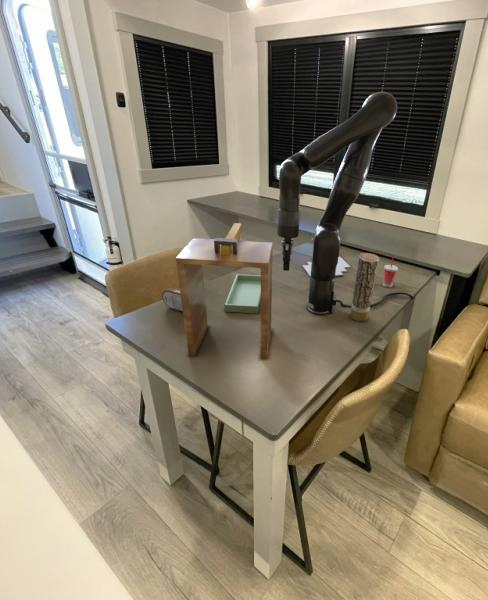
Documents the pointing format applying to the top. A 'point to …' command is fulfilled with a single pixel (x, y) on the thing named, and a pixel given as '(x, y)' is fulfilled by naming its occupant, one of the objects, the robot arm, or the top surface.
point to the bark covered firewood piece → (364, 286)
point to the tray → (244, 294)
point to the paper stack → (339, 267)
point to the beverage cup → (389, 274)
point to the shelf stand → (210, 254)
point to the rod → (232, 234)
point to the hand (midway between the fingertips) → (286, 265)
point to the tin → (172, 298)
